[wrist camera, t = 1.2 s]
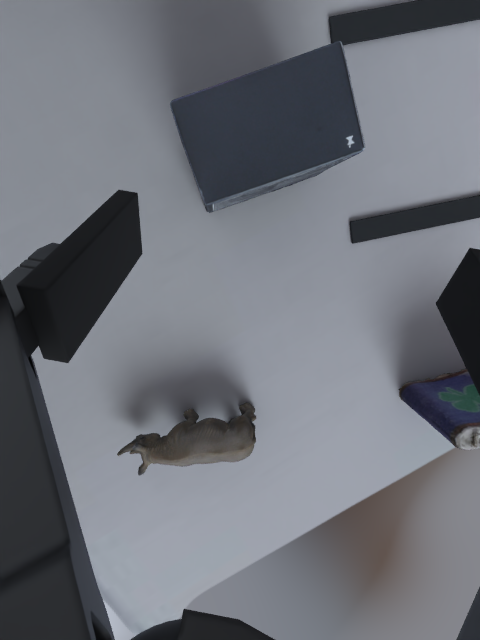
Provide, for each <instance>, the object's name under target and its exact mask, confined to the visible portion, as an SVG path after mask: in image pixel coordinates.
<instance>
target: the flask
mask: <svg viewBox="0 0 480 640" xmlns="http://www.w3.org/2000/svg"><path fill="white" fill-rule="evenodd" d="M399 390H400V393H399V397H400V398H401V400H403V401H404V402H405V403H406V404H407V405H408V406H410V407H411V408H412V409H413V410H414V411H416V412H417V413H418V414H419V415H420V416H421V417H423V418H424V419H425V420H426V421H428V422H429V423H430V424H431V425H432V426H433V427H434V428H435V429H436V430H437V431H439V432H440V433H441V434H442V435H443V436H444V437H445V438H447V439H448V440H449V441H450V442H451V443H452V444H453V445H454V446H455V447H457V448H459V449H463V450H471V449H480V395H479V393H478V391H477V389H476V387H475V385H474V383H473V381H472V379H471V377H470V374H469V372H468V370H467V369H463V370H461V372H456V373H451V374H450V373H447V374H443V375H439V376H438V377H436V378H435V379H430V378H428V379H426V380H425V381H419V380H418V381H413V382H407V383H406V384H404V385H403V386H402V387H401V388H400V389H399Z"/></svg>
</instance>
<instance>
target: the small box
mask: <svg viewBox="0 0 480 640" xmlns="http://www.w3.org/2000/svg"><path fill="white" fill-rule="evenodd" d="M170 106H171V110H172V113H173V116H174V119H175V122H176V125H177V129H178V132H179V135H180V138H181V141H182V144H183V147H184V149H185V152H186V155H187V158H188V160H189V163H190V166H191V168H192V171H193V174H194V177H195V180H196V183H197V185H198V188H199V191H200V193H201V197H202V200H203V202H204V205H205V208H206V211H207V212H209V213H210V212H213V211H216V210H219V209H222V208H225V207H228V206H231V205H234V204H236V203H239V202H242V201H246V200H248V199H251V198H254V197H257V196H260V195H262V194H266V193H268V192H272V191H275V190H278V189H281V188H283V187H286V186H290V185H292V184H294V183H297V182H300V181H303V180H305V179H308V178H311V177H314V176H317V175H318V174H320V173H321V172H323V171H325V170H326V169H328V168H330V167H332V166H334V165H337V164H338V163H341V162H342V161H344V160H346V159H349V158H351V157H353V156H355V155H357V154H359V153H360V152H362V151H363V150H364V149H365V143H364V139H363V135H362V131H361V126H360V121H359V117H358V112H357V108H356V103H355V99H354V94H353V89H352V85H351V81H350V75H349V71H348V67H347V62H346V58H345V53H344V49H343V44H342V42H341V41H337V42H334V43H332V44H329V45H326V46H323V47H320V48H318V49H315V50H312V51H310V52H307V53H304V54H301V55H299V56H296V57H293V58H290V59H288V60H285V61H282V62H279V63H277V64H274V65H271V66H268V67H266V68H263V69H260V70H257V71H254V72H252V73H249V74H246V75H243V76H240V77H237V78H235V79H232V80H229V81H226V82H223V83H221V84H218V85H215V86H212V87H209V88H206V89H203V90H200V91H198V92H195V93H192V94H189V95H186V96H183V97H180V98H177V99H175V100H172V101H171V102H170Z"/></svg>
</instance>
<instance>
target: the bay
mask: <svg viewBox="0 0 480 640" xmlns="http://www.w3.org/2000/svg"><path fill="white" fill-rule="evenodd" d="M479 19H480V0H417V1H412V2H407V3H401V4H396V5H390V6H385V7H380V8H374V9H369V10H363V11H358V12H352V13H347V14H342V15H336V16H331V17H330V18H329V24H330V34H331V44H332V43H334V42H337V41H341V42H342V44H343V45H346V44H351V43H357V42H362V41H367V40H373V39H378V38H383V37H388V36H394V35H399V34H404V33H410V32H415V31H420V30H426V29H431V28H436V27H442V26H447V25H452V24H458V23H463V22H468V21H474V20H479ZM479 217H480V195H478V196H473V197H469V198H464V199H459V200H454V201H449V202H444V203H439V204H434V205H429V206H424V207H420V208H415V209H410V210H405V211H400V212H395V213H390V214H385V215H380V216H375V217H371V218H366V219H361V220H356V221H351V222H350V230H351V240H352V243H358V242H363V241H367V240H372V239H377V238H382V237H387V236H392V235H397V234H401V233H406V232H411V231H416V230H421V229H426V228H431V227H435V226H440V225H445V224H450V223H455V222H460V221H464V220H469V219H474V218H479Z"/></svg>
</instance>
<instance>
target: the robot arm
mask: <svg viewBox="0 0 480 640" xmlns="http://www.w3.org/2000/svg"><path fill="white" fill-rule="evenodd" d="M141 255H142V243H141V231H140V218H139V206H138V193H135V192H129V191H123V190H118V191H117V192H116V193H115V194H114V195H112V196H111V197H110V198H109V199H108V200H107V201H106V202H105V203H104V204H103V205H102V206H101V207H100V208H99V209H97V210H96V211H95V212H94V213H93V214H92V215H91V216H90V217H89V218H88V219H87V220H86V221H85V222H84V223H82V224H81V225H80V226H79V227H78V228H77V229H76V230H75V231H74V232H73V233H72V234H71V235H70V236H69V237H67V238H66V239H65V240H64V241H63V242H62V243H61V244H57V243H51V244H48V245H46V246H44V247H42V248H39V249H37V250H36V251H35V252H34V253H33V254H32V255H31V256H29V257H28V260H25V261H24V262H23V263H21V264H20V267H17V268H16V269H15V270H13V271H12V272H11V273H10V274H9V275H8V276H7V277H5V278H4V279H3V280H2V281H1V280H0V640H115V639H114V635H113V632H112V628H111V625H110V621H109V618H108V615H107V611H106V608H105V605H104V602H103V599H102V597H101V594H100V591H99V589H98V586H97V583H96V579H95V576H94V573H93V569H92V565H91V562H90V558H89V555H88V551H87V548H86V544H85V541H84V537H83V534H82V530H81V527H80V523H79V520H78V516H77V513H76V509H75V506H74V502H73V498H72V495H71V491H70V488H69V484H68V481H67V477H66V474H65V470H64V467H63V463H62V460H61V456H60V453H59V449H58V446H57V442H56V439H55V435H54V431H53V428H52V424H51V421H50V417H49V414H48V410H47V407H46V403H45V400H44V396H43V393H42V389H41V386H40V382H39V379H38V375H37V372H36V368H35V364H34V361H33V359H32V356H31V354H32V353H33V352H34V351H35V349H36V348H37V347H38V346H39V347H40V350H41V353H42V355H43V358H44V359H49V360H54V361H60V362H65V363H69V361H70V360H71V358H72V357H73V355H74V354H75V352H76V351H77V349H78V348H79V346H80V345H81V343H82V342H83V340H84V339H85V338H86V336H87V335H88V333H89V332H90V330H91V329H92V327H93V326H94V324H95V323H96V321H97V320H98V318H99V317H100V315H101V314H102V312H103V311H104V309H105V308H106V307H107V305H108V304H109V302H110V301H111V299H112V298H113V296H114V295H115V293H116V292H117V290H118V289H119V287H120V286H121V284H122V283H123V281H124V280H125V278H126V277H127V276H128V274H129V273H130V271H131V270H132V268H133V267H134V265H135V264H136V262H137V261H138V259H139V258H140V256H141ZM436 305H437V307H438V309H439V312H440V314H441V316H442V318H443V320H444V322H445V324H446V326H447V328H448V330H449V332H450V335H451V337H452V339H453V341H454V343H455V345H456V347H457V349H458V351H459V353H460V356H461V358H462V360H463V362H464V364H465V366H466V368H467V370H468V372H469V374H470V377H471V379H472V381H473V383H474V385H475V387H476V389H477V391H478V393H479V395H480V250H479V249H473V248H470V249H469V250H468V252H467V253H466V255H465V257H464V258H463V260H462V262H461V263H460V265H459V266H458V268H457V270H456V271H455V273H454V275H453V276H452V278H451V279H450V281H449V283H448V284H447V286H446V288H445V289H444V291H443V292H442V294H441V296H440V297H439V299H438V301H437V302H436ZM131 640H274V639H273V638H271V637H269V636H267V635H265V634H264V633H262V632H260V631H259V630H257V629H255V628H253V627H251V626H250V625H248V624H246V623H244V622H242V621H240V620H238V619H233V618H228V617H223V616H218V615H213V614H208V613H202V612H197V611H192V610H187V609H184V610H183V615H182V619H179V620H173V621H168V622H165V623H162V624H159V625H156V626H153V627H151V628H149V629H147V630H145V631H143V632H141V633H140V634H138V635H137V636H135V637H134V638H132V639H131ZM457 640H480V587H479V590H478V592H477V594H476V596H475V599H474V601H473V603H472V606H471V608H470V610H469V613H468V615H467V617H466V619H465V621H464V624H463V626H462V628H461V631H460V633H459V635H458V637H457Z"/></svg>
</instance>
